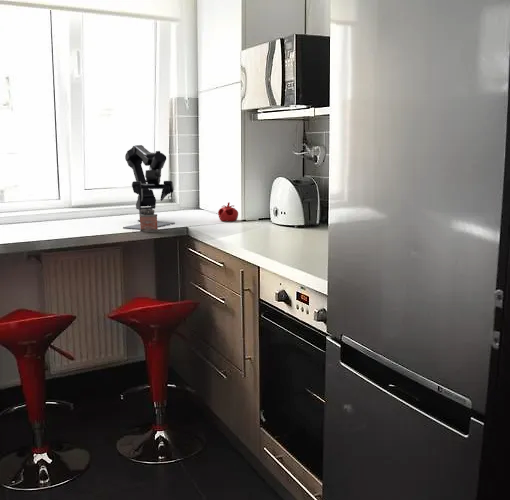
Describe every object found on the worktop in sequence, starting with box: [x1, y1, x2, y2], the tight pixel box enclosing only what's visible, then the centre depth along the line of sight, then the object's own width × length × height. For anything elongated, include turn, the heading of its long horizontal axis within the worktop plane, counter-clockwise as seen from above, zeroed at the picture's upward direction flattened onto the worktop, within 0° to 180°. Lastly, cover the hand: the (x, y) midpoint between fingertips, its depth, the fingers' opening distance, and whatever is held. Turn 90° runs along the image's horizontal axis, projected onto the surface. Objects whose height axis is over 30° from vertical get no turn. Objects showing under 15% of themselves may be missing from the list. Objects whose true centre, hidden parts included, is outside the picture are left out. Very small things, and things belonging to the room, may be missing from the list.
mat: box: [122, 220, 176, 231], centre depth 285 cm, size 13×22×1 cm, turn 148°
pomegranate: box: [217, 202, 239, 222], centre depth 297 cm, size 10×10×9 cm
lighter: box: [139, 209, 159, 233], centre depth 269 cm, size 8×3×10 cm, turn 84°
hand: (151, 200), depth 274 cm, fingers open, 9 cm apart
